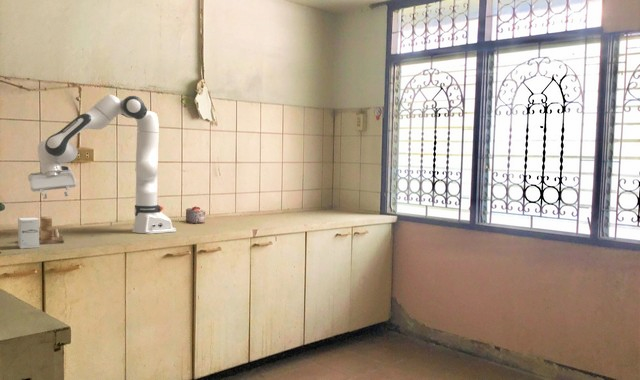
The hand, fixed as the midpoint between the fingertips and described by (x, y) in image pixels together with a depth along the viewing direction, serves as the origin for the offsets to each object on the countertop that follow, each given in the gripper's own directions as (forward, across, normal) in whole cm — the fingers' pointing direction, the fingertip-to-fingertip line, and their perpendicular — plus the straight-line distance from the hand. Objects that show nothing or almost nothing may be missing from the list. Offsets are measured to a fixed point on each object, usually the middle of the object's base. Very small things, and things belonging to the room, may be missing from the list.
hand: (56, 197), depth 258 cm
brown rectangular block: (+21, -8, -3) cm, 23 cm away
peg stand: (+22, -8, -2) cm, 24 cm away
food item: (+15, +76, +32) cm, 84 cm away
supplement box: (+27, -16, -13) cm, 34 cm away
